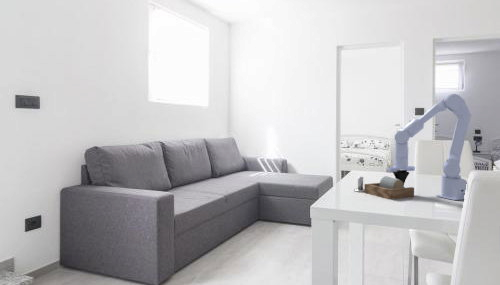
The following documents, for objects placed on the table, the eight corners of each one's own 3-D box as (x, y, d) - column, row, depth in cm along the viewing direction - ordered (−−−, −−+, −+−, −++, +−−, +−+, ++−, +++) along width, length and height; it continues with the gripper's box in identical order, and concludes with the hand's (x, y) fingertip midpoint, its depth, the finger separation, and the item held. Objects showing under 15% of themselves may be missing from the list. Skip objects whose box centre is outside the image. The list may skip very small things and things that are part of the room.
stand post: (369, 191, 170) (370, 177, 170) (359, 192, 168) (359, 178, 168) (361, 189, 176) (361, 175, 176) (351, 190, 174) (351, 176, 173)
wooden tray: (414, 196, 158) (414, 187, 158) (389, 199, 153) (390, 190, 153) (387, 190, 173) (387, 182, 173) (364, 192, 168) (364, 184, 168)
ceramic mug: (394, 196, 159) (395, 179, 158) (378, 193, 166) (379, 176, 165) (409, 194, 164) (409, 177, 164) (393, 191, 171) (394, 175, 171)
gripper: (406, 156, 171) (406, 184, 172) (382, 157, 166) (381, 186, 167) (418, 157, 165) (417, 187, 166) (393, 158, 159) (393, 189, 160)
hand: (400, 187), depth 166 cm, fingers closed
